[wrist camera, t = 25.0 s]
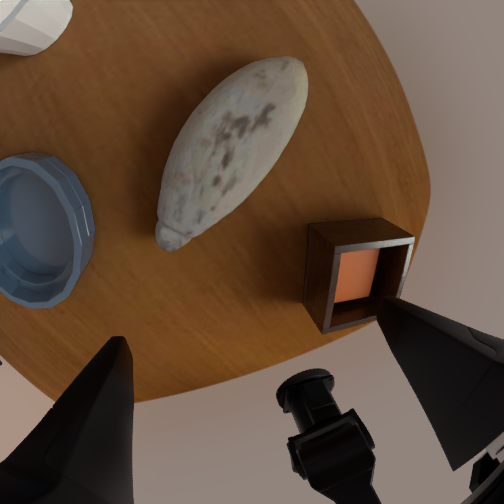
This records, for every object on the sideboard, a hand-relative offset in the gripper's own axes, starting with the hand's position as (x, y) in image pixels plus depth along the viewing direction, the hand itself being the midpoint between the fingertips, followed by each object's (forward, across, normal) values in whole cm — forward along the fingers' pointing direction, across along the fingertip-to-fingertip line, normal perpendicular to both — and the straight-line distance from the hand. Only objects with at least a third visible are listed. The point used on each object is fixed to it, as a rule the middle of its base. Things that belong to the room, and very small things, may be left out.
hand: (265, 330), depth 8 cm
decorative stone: (+13, 0, -5) cm, 13 cm away
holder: (+12, -11, +5) cm, 17 cm away
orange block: (+12, -11, +5) cm, 17 cm away
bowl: (+12, +15, -1) cm, 19 cm away
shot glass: (+13, +14, -18) cm, 26 cm away
